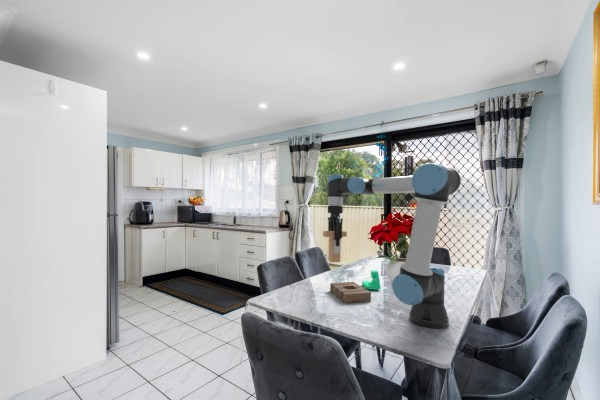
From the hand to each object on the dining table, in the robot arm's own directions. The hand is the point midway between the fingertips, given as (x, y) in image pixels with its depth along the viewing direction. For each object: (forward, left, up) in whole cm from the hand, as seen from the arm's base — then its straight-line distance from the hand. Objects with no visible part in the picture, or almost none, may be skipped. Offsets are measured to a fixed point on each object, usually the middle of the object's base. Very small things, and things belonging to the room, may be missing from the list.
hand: (334, 251), depth 143 cm
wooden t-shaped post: (0, 0, -5) cm, 5 cm away
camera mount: (+18, -30, -25) cm, 43 cm away
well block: (+6, -11, -25) cm, 28 cm away
